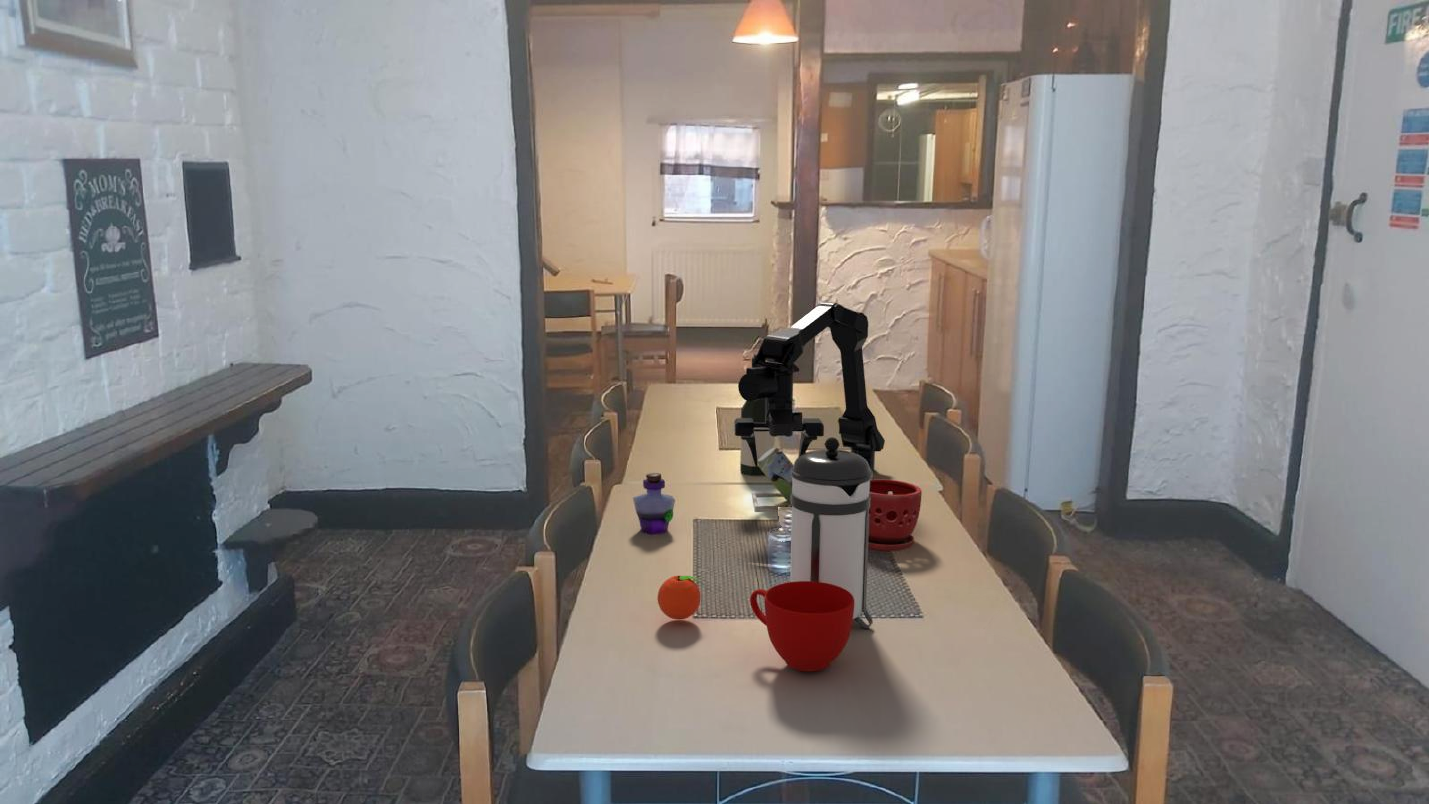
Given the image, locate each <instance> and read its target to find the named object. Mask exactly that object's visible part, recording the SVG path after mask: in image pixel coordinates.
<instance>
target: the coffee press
mask: <svg viewBox="0 0 1429 804" xmlns="http://www.w3.org/2000/svg"><path fill="white" fill-rule="evenodd" d="M839 446H841V445H840V442H839V440H838V439H837V438H836V437H833V436H832V437H829V438H827V439H826V440H825V443H824V447H825V449H816V450H815V449H814V450H810V451H806V453H804V454H802V455H800V456H799V457H797V458H796V459H795V461H794V463H793V466H792V467H791V468H790V475H791V477H792V490H791V501H790V506H792V510H791V520H790V521H791V523H790V524H791V525H790V528H791V529H790V531H791V532H790V565H789V567H790V571H789V573H790V574H789V576H790V577H789V582H796V581H813V582H822V583H828V584H832V585H836V586H839V587H841V588H843V589H845V590H847V591H848V592H850V593H851V594H852V595H853V598H854V614H853V621H856V622H857V623H858V624H859V625H860V626H861V627H862V628H863V629H865V630H866V629H870V627H871V626H872V625H873V623H874V621H873V618H872V617H871V615H870V613H869V612H868V608H867V592H868V591H867V589H868V588H867V587H868V563H869V562H868V560H869V558H868V557H869V548H868V538H869V508H870V502H871V494H870V492H869V488H870V480H871V479H873V477H874V475H873V472H874V471H872V470H871V469H870V468H869V464H868V462H867V461H866V460H865V459H864V458H863V457H861V456H860V455H858V454H855V453H852V452H851V451H849V450H842V449H839ZM862 613H863V615H864V617H865V619H866V620H867V621H868V624H867V623H866V622H865V621H864V620H863V619H862V618H861V617H860V616H861V615H862Z"/></svg>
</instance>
